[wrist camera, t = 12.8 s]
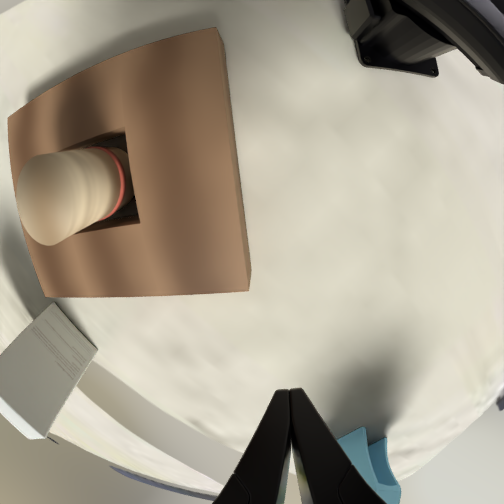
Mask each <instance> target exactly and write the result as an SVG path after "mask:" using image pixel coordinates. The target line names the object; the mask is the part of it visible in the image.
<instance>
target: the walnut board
mask: <svg viewBox="0 0 504 504" xmlns="http://www.w3.org/2000/svg"><path fill="white" fill-rule="evenodd" d="M124 134H126V142H127V149H128V157H129V163H130V170H131V176H132V182H133V188H134V193H135V198H136V204H137V209H138V214H139V215H134V216H128V217H123V218H117V219H111V220H106V221H100V222H95V223H93V224H91V225H89V226H87V227H85V228H83V229H82V230H80V231H78V232H76V233H75V234H73V235H71V236H69V237H67V238H66V239H64V240H62V241H61V242H59V243H57V244H55V245H51V246H47V245H43V244H40V243H38V242H37V241H35V240H34V239H33V238H32V237H31V236H30V235H29V233H28V232H27V231H26V229H25V227H24V226H23V224H22V221H21V224H22V228H23V232H24V236H25V239H26V243H27V246H28V250H29V253H30V256H31V259H32V262H33V265H34V268H35V271H36V274H37V277H38V279H39V282H40V285H41V287H42V290H43V292H44V295H45V297H143V296H171V295H193V294H212V293H229V292H244V291H249V286H250V278H251V262H250V254H249V246H248V238H247V230H246V222H245V214H244V206H243V198H242V190H241V182H240V174H239V166H238V158H237V149H236V141H235V133H234V125H233V117H232V108H231V100H230V92H229V84H228V75H227V67H226V58H225V50H224V44H223V41H222V39H221V37H220V35H219V33H218V30H217V28H216V27H214V28H209V29H203V30H199V31H194V32H190V33H186V34H181V35H178V36H174V37H170V38H167V39H163V40H160V41H156V42H153V43H150V44H147V45H144V46H141V47H138V48H135V49H133V50H130V51H127V52H125V53H122V54H120V55H117V56H115V57H112V58H110V59H107V60H105V61H103V62H101V63H98V64H96V65H94V66H92V67H90V68H88V69H86V70H84V71H82V72H80V73H78V74H76V75H74V76H72V77H70V78H68V79H66V80H65V81H63V82H61V83H59V84H58V85H56V86H54V87H52V88H51V89H49V90H47V91H46V92H44V93H43V94H41V95H39V96H38V97H36V98H35V99H33V100H32V101H30V102H29V103H27V104H26V105H25V106H23V107H22V108H20V109H19V110H18V111H16V112H15V113H13V114H12V115H11V116H10V117H8V142H9V154H10V164H11V172H12V179H13V185H14V191H15V197H16V190H17V183H18V178H19V175H20V173H21V170H22V168H23V167H24V165H25V164H26V163H27V161H28V160H30V159H31V158H32V157H34V156H37V155H41V154H48V153H55V152H62V151H70V150H80V149H82V148H85V147H88V146H91V145H93V144H96V143H99V142H102V141H105V140H108V139H111V138H114V137H118V136H121V135H124ZM16 202H17V200H16ZM20 220H21V219H20Z"/></svg>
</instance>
